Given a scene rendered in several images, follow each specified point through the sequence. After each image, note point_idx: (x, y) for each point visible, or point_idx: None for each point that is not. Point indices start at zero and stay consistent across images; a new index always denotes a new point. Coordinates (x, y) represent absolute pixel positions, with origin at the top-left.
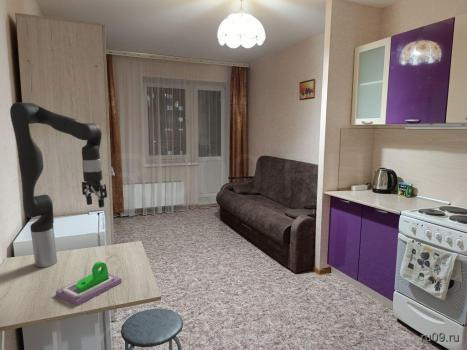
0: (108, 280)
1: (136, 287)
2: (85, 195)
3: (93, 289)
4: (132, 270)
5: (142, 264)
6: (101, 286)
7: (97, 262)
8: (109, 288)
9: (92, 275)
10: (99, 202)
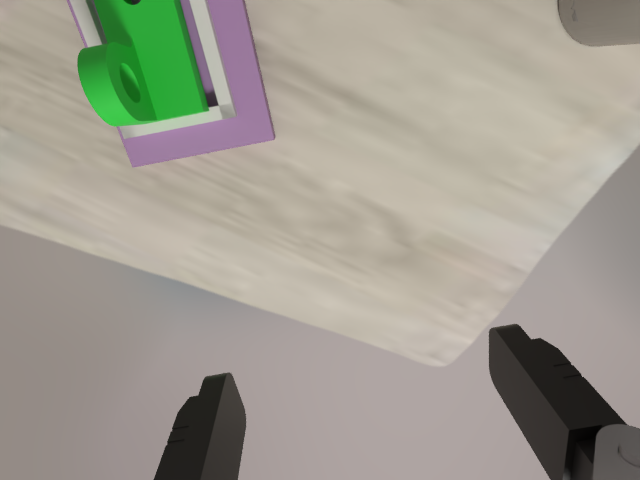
0: None
1: (61, 183)
2: (636, 448)
3: (80, 19)
4: (214, 240)
5: (237, 289)
6: None
7: (106, 82)
8: None
9: (173, 61)
10: (186, 443)
